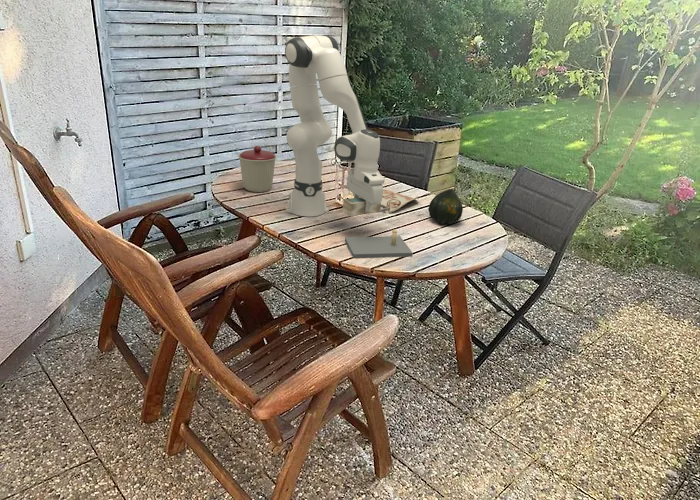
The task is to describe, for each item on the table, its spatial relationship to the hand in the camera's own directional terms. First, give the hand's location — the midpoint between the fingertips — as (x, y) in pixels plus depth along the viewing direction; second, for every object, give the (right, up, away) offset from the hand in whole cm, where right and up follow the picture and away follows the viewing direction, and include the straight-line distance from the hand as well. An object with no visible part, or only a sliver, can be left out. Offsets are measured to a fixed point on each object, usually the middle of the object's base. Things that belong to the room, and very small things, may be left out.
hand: (361, 207), depth 207 cm
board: (+6, -16, -9) cm, 19 cm away
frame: (+2, -1, +2) cm, 3 cm away
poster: (+11, +6, +46) cm, 48 cm away
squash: (+36, -4, +24) cm, 44 cm away
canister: (-49, +13, +50) cm, 71 cm away
